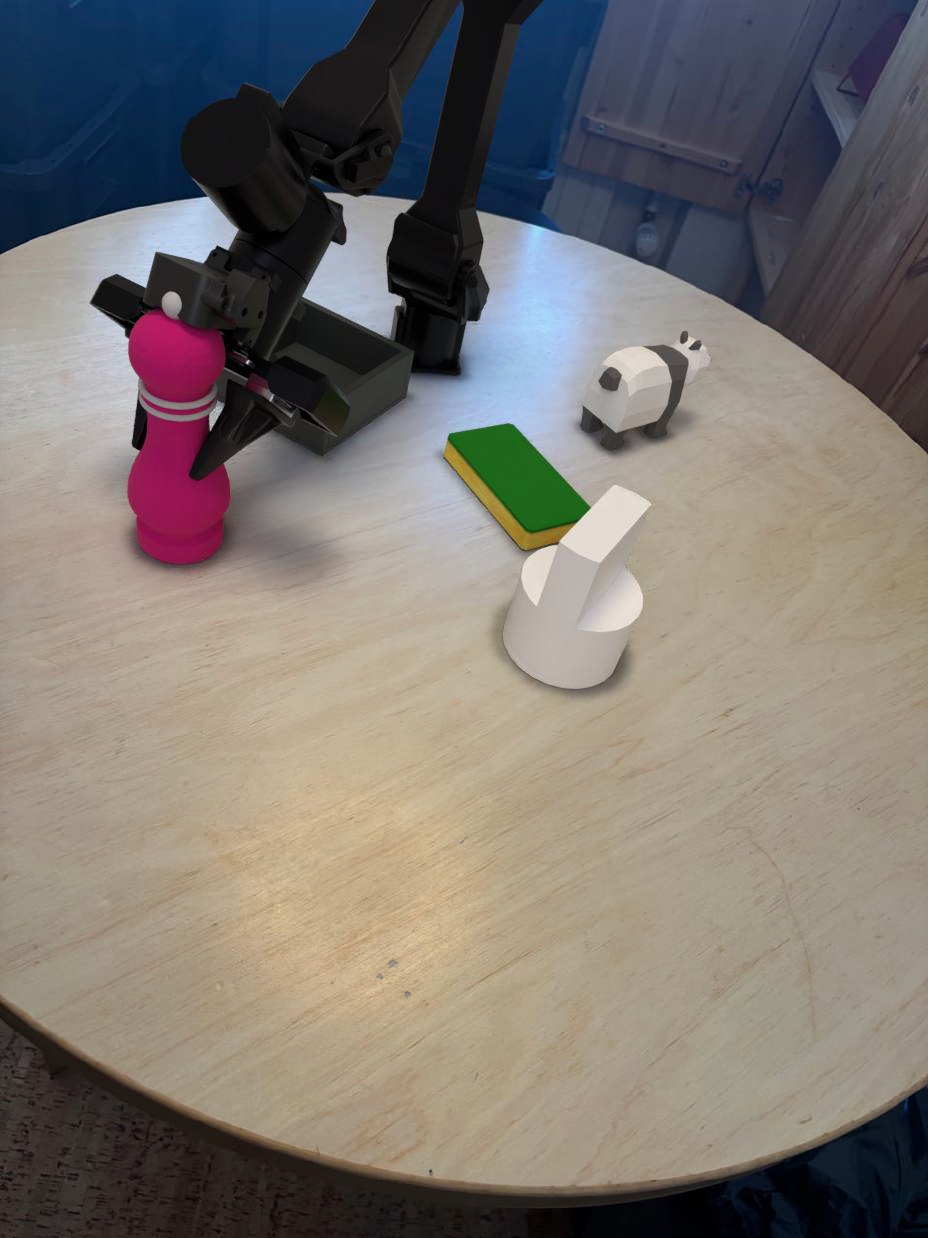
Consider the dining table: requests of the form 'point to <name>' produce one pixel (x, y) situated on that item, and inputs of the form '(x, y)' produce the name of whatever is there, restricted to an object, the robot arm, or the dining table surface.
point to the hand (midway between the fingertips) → (164, 464)
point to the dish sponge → (516, 484)
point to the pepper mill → (176, 436)
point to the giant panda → (641, 388)
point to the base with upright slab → (579, 597)
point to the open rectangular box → (340, 370)
